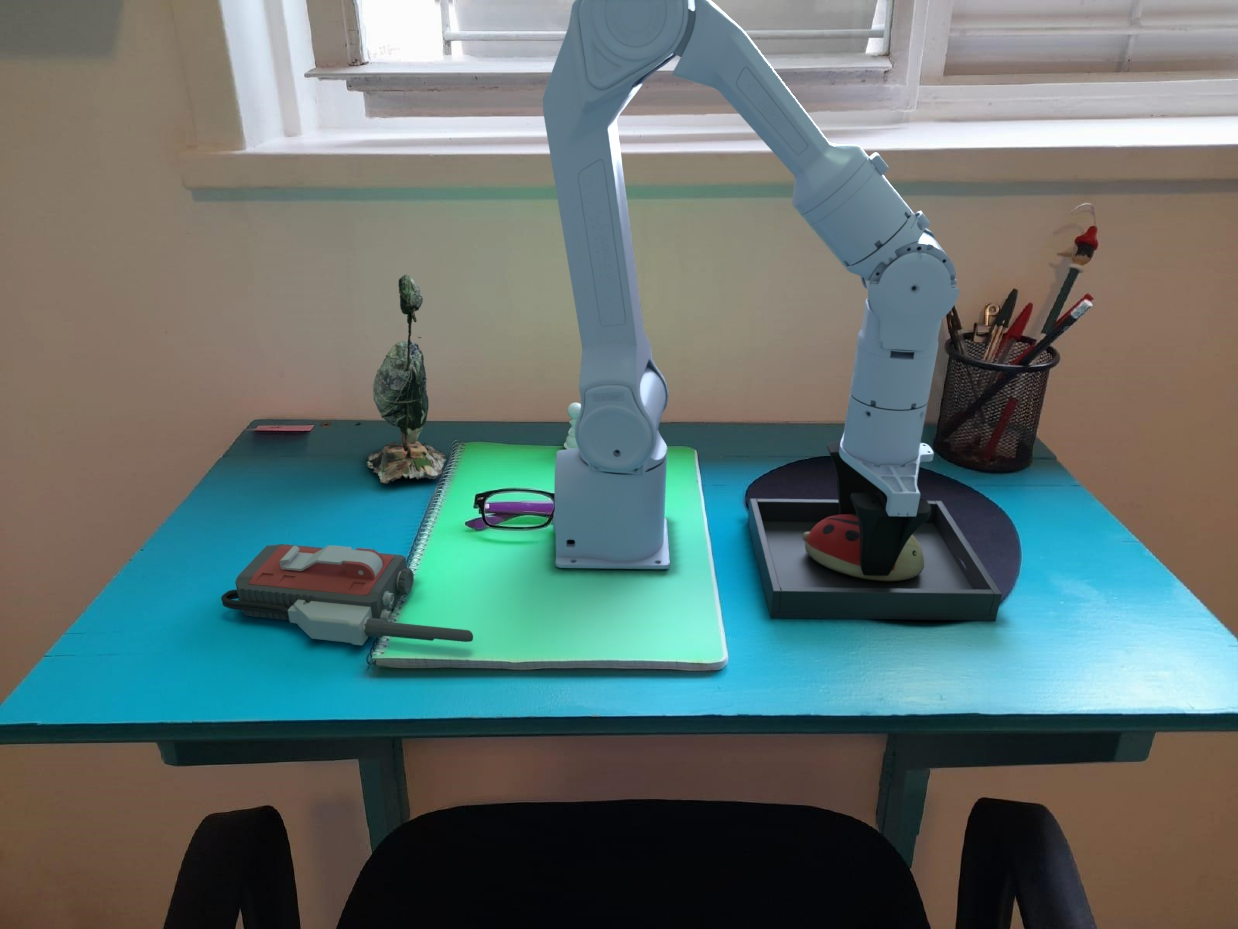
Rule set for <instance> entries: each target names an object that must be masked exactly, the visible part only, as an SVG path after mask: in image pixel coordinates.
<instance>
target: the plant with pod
mask: <svg viewBox="0 0 1238 929" xmlns="http://www.w3.org/2000/svg"><path fill="white" fill-rule="evenodd" d="M398 293H399V307H400V310H401V313H402V314H403V315H406V323H407V324H408V328H407V329H408V336H407V340H401V341H397V342H396V343H395V344H393V345H392V346H391V348H390V350H388V352H387V354H386V355H385V358H384V359H383V360H382V364H381V365H380V367H379V368H378V369H377V370H376V374H375V376H374V378H373V383H372V392H373V393H372V394H373V401H374V404H375V405H376V408H377V410H378V412H379V413H380V416H381V418H382V419H383V420H385V422H387V423H388V424H389V425H391V426H393V427H397V428H399V430H400V434H399V435H400V437H399V439H400V442H401V443H396V442H391V443H388V444H386V445H384V446H383V448H382V449H381V450H378V451H377V452H372V453H371V452H370V453H369V454H368V457H367V458H368V461H367V462H366V466H367V467H368V468H370V470H371V469H373V471H372V473H374V474H375V473H376V474H377V476H379V479H380V483H383V484H389V483H390V481H391V482H395V481H396V480H397V479H402V476H403V477H404V478H405V479H408V477H409V479H414V478H416V480H419V479H424V478H426V479H427V478H428V480H431V479H432V480H436V479H438V478H440V477H441V476H442V475H443V472H444V471H443V468H444V464H445V462H446V461H447V459H446V455H445V454H444V452H443V451H441V450H436V449H435V448H434V447H435V446H431V444H429V443H426V442H424V443H421V442H420V441H418V439H419V436H420V434H421V432H422V431H423V429H424V428H425V424H426V422H427V420H428V419H427V418H428V412H429V397H428V391H427V387H428V386H427V373H426V367H425V364H424V360H425V359H424V354H423V352H422V349H420V347H419V344H418V343H416V342H414V341H412V340H411V336H412V323H413V322H415V323H417V322H418V320H417V317H416V312H417V311H419V310H420V308H421V307H422V305H423V302H424V296H423V293H422V291H421V289H420V287H419V286H418V285H417V283H416V281H415V280H414V279H413V278H412V277H411V276H410V275H409V274H408V273H406V274H404V275H403V276H401V277H400V278H398ZM417 339H422V336H417Z"/></svg>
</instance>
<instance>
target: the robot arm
mask: <svg viewBox="0 0 1238 929" xmlns="http://www.w3.org/2000/svg"><path fill="white" fill-rule="evenodd" d="M676 57H679V60H678V62H677V64H675V68H673V71H672V75H673V76H674V77H678V78H680V79H684V80H686V81H690V82H693V83H697V84H700V85H703V86H707V87H709V88H713V89H715V90H716V91H718V92H719V93H720V94H721V95H722V97H723V98H724V99H725V100H726V101H727V102H728V103H729V104H730V105H731V107H732V108H734V110H735V111H736V112H737V113H738V114H739V115H740V117H741V118H742V119H743V120H744V121H745V122H746V124H747V125H748V126H749V127H750V128H751V129H752V130H753V131H754V133H755V134H756V135H757V136H758V137H759V138H760V139H761V140H762V142H763V143H764V144H765V145H766V146H767V148H768V149H770V151H771V152H772V153H773V154H774V155H775V157H777V158H778V160H779V161H780V163H782V164H783V165H784V166H785V167H786V168H787V170H788V171H789V172H790V173H791V174H792V175H793V177H794V182H793V190H792V191H793V192H792V200H791V201H792V202H791V203H792V206H793V208H794V210H796V211H797V213H798V214H799V215H800V216H801V217H802V219H803V220H804V221H805V222H806V223H807V224H808V226H809V227H810V228H811V229H812V230H813V232H814V233H815V234H816V235H817V236H818V237H819V239H820V240H821V241H822V243H824V245H825V246H826V247H827V248H828V250H829V251H830V252H831V253H832V254H833V256H834V257H835V258H836V259H837V260H838V261H839V263H840V264H841V265H842V266H843V267H844V269H845V270H846V271H847V272H848V273H851V274H854V275H857V276H859V277H860V280H861V283H862V284H861V285H862V286H863V288H864V289H866V290H867V298H866V299H865V302H864V309H863V314H862V315H863V316H862V323H861V328H860V330H859V331H858V334H857V340H856V346H855V354H854V360H853V369H852V374H851V382H850V389H849V396H848V404H847V409H846V414H845V420H844V427H843V428H844V429H843V433H842V436H841V439H840V440H837V441H836V440H833V441H830V442H828V443H827V444H826V448H827V451H828V453H829V456H830V459H831V462H832V465H833V469H834V473H835V479H836V487H837V488H836V489H837V498H838V499H837V500H838V502H839V513H840V515H842V514H856V515H857V518H858V523H859V531H860V565H861V570H862V573H863V575H865V576H888V575H889V574H890V572H891V571H892V569H893V567H894V565H895V563H896V561H897V559H898V557H899V555H900V553H901V551H902V549H903V547H904V546H905V544H906V542H907V541H908V539H909V538H910V537H911V535H912V534H913V533H914V532H915V531H916V530H917V529H918V527H920V526H921V525H922V524H923V523H924V522H925V521H926V520H928V519H929V517H930V514H931V507H930V505H929V503H928V502H927V501H928V500H927V499H926V498H925V497H924V498H922V497H921V492H920V490H919V487H918V479H919V478H918V477H919V472H920V465H921V463H929V462H930V463H931V462H932V461H933V460H934V456H935V452H934V450H933V449H932V447H931V446H930V445H929V444H927V443H925V442H922V436H923V432H924V426H925V420H926V415H927V411H928V410H927V409H928V404H929V399H930V395H931V390H932V383H933V377H934V372H935V367H936V362H937V356H938V351H939V344H940V343H939V336H940V330H941V327H942V320H943V319H944V318H945V317H946V316H947V315H948V314H949V313H950V312H951V310H952V309H953V307H954V306H955V305H956V302H957V300H958V298H959V295H960V291H961V290H960V288H959V287H957V282H958V280H957V279H956V278H957V277H956V275H957V272H956V268H955V266H954V264H953V262H952V260H951V259H950V257H949V256H948V255H947V253H946V252H945V251H944V249H943V247H942V246H941V245H940V244H939V242H938V240H936V236H935V234H934V233H933V231H931V230H929V229H928V228H929V226H930V225H931V222H930V220H929V219H928V218H927V216H926V215H925V214H924V213H923V211H922V210H918V211H917V212H916V213H914V211H913V210H912V209H911V208H910V207H909V205H908V204H907V203H906V201H905V200H904V199H903V198H902V196H901V195H900V194H899V193H898V191H897V190H896V189H895V188H894V187H893V185H892V183H890V181H889V180H888V179H887V178H886V177H885V175H884V174H886V173H887V172H888V171H889V169H890V167H889V165H888V164H887V163H886V162H885V160H884V159H883V157H881V155H880V154H879V153H878V152H873V153H871V154H870V156H869V155H868V154H867V152H866V151H865V150H864V149H863V147H862V146H860V145H857V144H840V143H834V142H833V143H832V142H830V141H829V140H828V139H827V137H826V136H825V135H824V133H823V132H822V131H821V130H820V128H819V126H817V124H816V123H815V122H814V120H813V119H812V118H811V116H810V115H809V114H808V112H807V111H806V110H805V108H804V107H803V105H801V103H800V102H799V101H798V99H797V98H796V96H794V94H793V93H792V91H791V90H790V89H789V88H788V86H787V85H786V83H785V82H784V81H783V80H782V78H781V77H780V76H779V74H778V73H777V72H776V70H775V68H773V66H772V65H771V63H770V62H769V61H768V60H767V58H766V57H765V56H764V55H763V53H762V52H761V50H760V49H759V48H758V46H757V45H756V44H755V43H754V41H753V40H752V39H751V37H750V36H749V35H748V33H747V32H746V31H745V30H744V29H743V28H742V27H741V26H740V25H739V24H738V23H737V22H736V21H735V20H733V19H732V18H731V17H730V16H729V15H728V13H726V12H725V11H724V10H722V9H721V8H720V6H718V5H717V4H716V3H715V2H713V1H712V0H574V1H573V2H572V5H571V10H570V16H569V21H568V26H567V29H566V33H565V35H564V38H563V41H562V43H561V45H560V49H559V51H558V54H557V56H556V60H555V62H554V65H553V68H552V70H551V73H550V76H549V79H548V80H547V84H546V86H545V89H544V92H543V97H542V112H543V118H544V119H543V120H544V125H545V131H546V132H545V133H546V137H547V144H548V149H549V156H550V161H551V168H552V174H553V180H554V185H555V186H554V187H555V191H556V198H557V204H558V211H559V216H560V223H561V230H562V234H563V240H564V246H565V253H566V258H567V259H566V260H567V265H568V270H569V276H570V283H571V289H572V295H573V301H574V307H575V313H576V320H577V325H578V332H579V337H580V342H581V362H580V370H579V379H578V380H579V381H578V389H579V395H580V404H581V409H580V413H579V416H578V418H577V421H576V425H575V439H576V443H577V446H578V447H577V448H572V449H566V448H565V449H559V450H557V451H556V454H555V464H554V492H553V493H554V494H553V495H554V497H553V498H554V511H553V516H552V517H553V518H552V523H553V524H552V528H553V529H552V530H553V532H554V534H555V535H554V536H555V566H556V567H557V568H559V569H610V570H611V569H613V570H614V569H618V570H621V569H622V570H624V569H625V570H668V569H670V566H671V558H670V545H669V532H668V518H666V517H665V516H666V493H667V492H666V490H667V485H666V484H667V467H668V466H667V465H668V445H667V444H666V442H665V440H664V439H663V437H662V436H661V434H660V431H659V427H660V423H661V420H662V417H663V413H664V412H665V410H666V409H667V407H668V402H669V393H670V392H669V387H668V384H667V381H666V379H665V376H664V375H663V373H662V372H661V371H660V369H659V368H658V367H657V365H656V362H655V360H654V356H653V349H652V344H651V342H650V340H649V337H648V335H647V333H646V332H645V327H644V319H643V311H642V305H641V297H640V290H639V282H638V281H639V280H638V275H637V274H638V273H637V265H636V259H635V251H634V244H633V236H632V229H631V221H630V220H631V219H630V214H629V205H628V198H627V191H626V184H625V175H624V167H623V159H622V153H621V145H620V144H621V143H620V138H619V129H618V118H619V116H620V115H621V113H622V112H623V111H624V110H625V108H626V107H627V105H628V104H629V103H630V102H631V100H632V99H633V98H634V97H635V95H636V94H637V93H638V91H639V90H640V89H641V87H642V86H643V85H644V81H645V80H647V79H648V78H649V77H650V76H652V75H653V74H654V73H655V72H657V71H658V70H659V69H661V68H663V67H664V66H665V65H667V64H668V63H669V62H671V61H672V60H674V59H675V58H676Z"/></svg>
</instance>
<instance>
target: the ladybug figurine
mask: <svg viewBox="0 0 1238 929" xmlns="http://www.w3.org/2000/svg"><path fill="white" fill-rule="evenodd" d="M803 540H804V541H805V549H806V551H807V553H808V554H809V555H810V556H811V557H812V558H813V559H814V560H815V561H817V562H818V563H820V564H821V565H823V566H825V567H827V568H829V569H832V570H834V571H837V572H840V573H843V574H846V575H849V576H853V577H857V578H862V579H867V580H875V581H901V580H907V579H909V578H912V577H914V576H916V575H917V574H918V573H919V572H921V571H922V568H923V567H924V556H923V552H922V549H921V547H920V544H919V543H918V541H917V540H916V538H915V537H914V536H913V535H911V537H910V538H909V539H908V541H907V542H906V544H905V546H904V547H903V549H902V551H901V553H900V555H899V557H898V559H897V561H896V563H895V565H894V567H893V569H892V571H891V572H890V574H889V575H888V576H865V575H863V573H862V570H861V565H860V531H859V523H858V518H857V515H856V514H842V515H833V516H830V517H827V518H825V519H823V520H822V521H820V522H819V523H817V524H816V525H815V526H814V527H813V529H812V530H811V531H810V532H805V533H804V534H803Z"/></svg>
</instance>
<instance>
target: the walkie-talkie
mask: <svg viewBox="0 0 1238 929" xmlns="http://www.w3.org/2000/svg"><path fill="white" fill-rule="evenodd" d="M414 576H415V575H414V572H413V570H412V568H409V567H408V564H407V557H406V556H404V555H403V554H397V553H396V554H395V553H386V552H385V553H383V552H379V551H377V550H376V549H372V548H364V547H363V548H361V547H356V549H353V547H352V546H342V545H330V544H329V545H327V546H325V547H321V546H320V547H319V546H318V547H316V546H307V545H297V544H288V543H287V544H284V543H278V544H269V545H268V544H267V545H266V546H264V547H263V548H262V550H261V551H260V552H259V553H258V554H257V555H256V556H255V557H254V558H253V559H252V560H251V561H250V562H249V564H247V566H246V567H245V568H243V570H242V571H241V572H240V573H239V574H238V575H237V577H236V578H235V581H234V583H235V588H236V589H230V590H228V591H226V592H224V593H223V594H222V595H221V597H220V599H221V600H220V601H221V604H222V607H225V608H227V609H229V610H239V611H241V612H242V613H243V614H244V616H246V617H253V618H254V617H255V618H264V619H275V620H282V621H283V620H284V621H289V624H297V626H298V627H299V628H300V629H301V630H302V631H304V633H305V634H306V635H307V636H308V637H309V638H310V639H312V640H320V641H321V640H322V641H330V642H338V643H348V644H351V645H354V646H364V644H365V643H366V641H367V640H368V638H369V637H372V638H383V637H390V638H399V639H411V640H420V641H430V642H433V641H434V640H443V641H451V642H462V643H470V642H473V640H474V634H473V632H472V631H471V630H469V629H462V628H461V629H460V628H453V627H441V626H432V625H422V624H414V623H413V624H412V623H402V622H393V621H392V618H393V614H392V610H393V609H394V607H395V605H396V604H397V602H398V601H399V599H400V598H401V596H408V595H409V594H410V593H411V592H412V590H413V586H414V579H415V578H414Z"/></svg>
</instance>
